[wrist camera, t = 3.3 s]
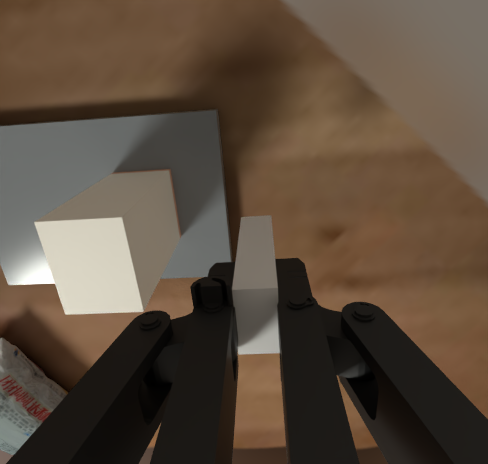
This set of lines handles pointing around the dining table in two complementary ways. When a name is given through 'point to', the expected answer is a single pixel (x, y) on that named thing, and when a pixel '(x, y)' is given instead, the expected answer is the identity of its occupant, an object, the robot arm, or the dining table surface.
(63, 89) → the dining table surface
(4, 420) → the packaged food
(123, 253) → the block
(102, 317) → the dining table surface
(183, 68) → the dining table surface
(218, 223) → the board
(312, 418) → the robot arm
